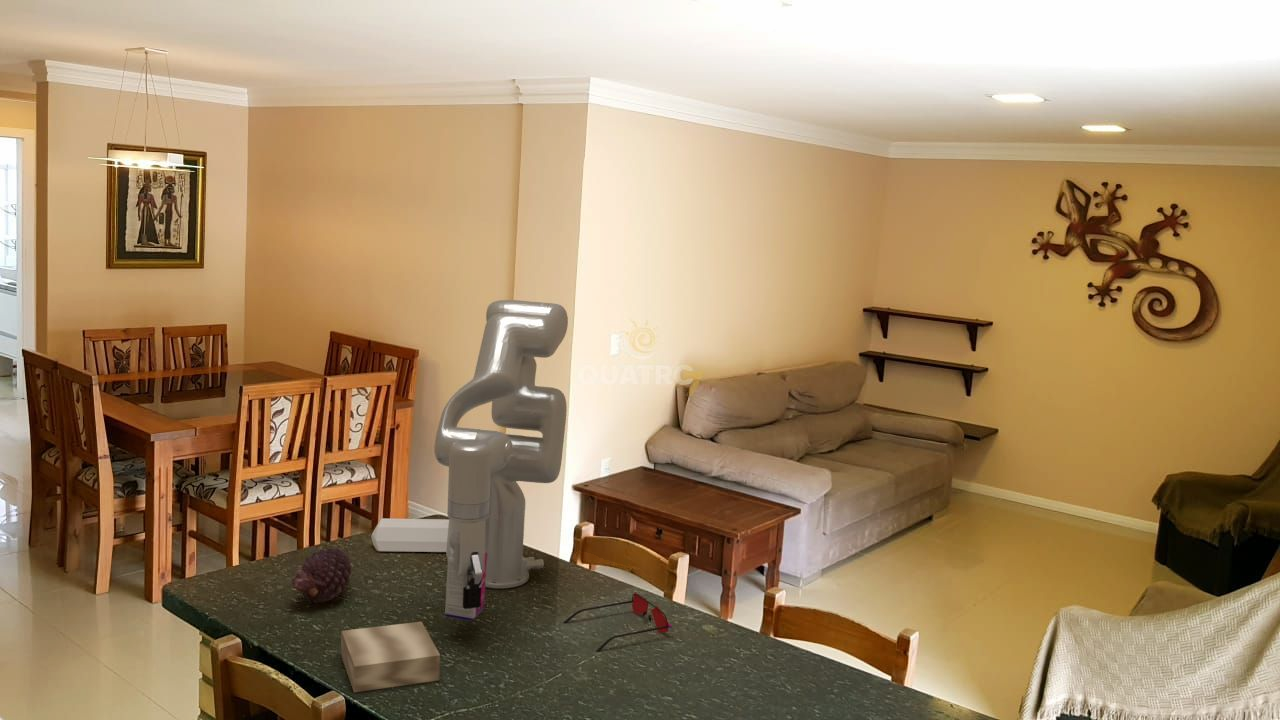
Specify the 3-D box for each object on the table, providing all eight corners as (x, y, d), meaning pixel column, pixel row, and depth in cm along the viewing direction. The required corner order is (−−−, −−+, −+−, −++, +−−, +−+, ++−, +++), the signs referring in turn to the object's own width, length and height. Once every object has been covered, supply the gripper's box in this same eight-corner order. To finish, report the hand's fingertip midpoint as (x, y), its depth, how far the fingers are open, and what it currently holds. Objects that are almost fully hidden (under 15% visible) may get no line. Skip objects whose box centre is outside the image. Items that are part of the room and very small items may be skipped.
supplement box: (474, 621, 182) (476, 562, 179) (443, 616, 183) (445, 558, 181) (485, 608, 187) (487, 551, 185) (455, 603, 188) (457, 546, 186)
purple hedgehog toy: (325, 578, 207) (326, 532, 206) (369, 585, 206) (370, 538, 204) (279, 611, 190) (279, 561, 189) (327, 618, 189) (328, 568, 187)
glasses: (671, 639, 191) (673, 614, 190) (596, 654, 183) (598, 628, 182) (634, 611, 203) (636, 588, 202) (562, 624, 194) (563, 600, 193)
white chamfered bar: (478, 525, 236) (374, 523, 232) (478, 519, 229) (371, 517, 225) (476, 556, 233) (371, 555, 229) (477, 551, 227) (368, 550, 223)
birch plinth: (420, 645, 180) (421, 621, 180) (439, 680, 168) (440, 655, 167) (340, 655, 174) (341, 630, 174) (354, 692, 162) (354, 666, 161)
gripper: (436, 493, 187) (434, 581, 191) (460, 526, 172) (457, 620, 175) (475, 490, 190) (472, 576, 194) (502, 522, 175) (498, 615, 178)
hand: (465, 597), depth 184 cm, fingers closed on supplement box, 7 cm apart
